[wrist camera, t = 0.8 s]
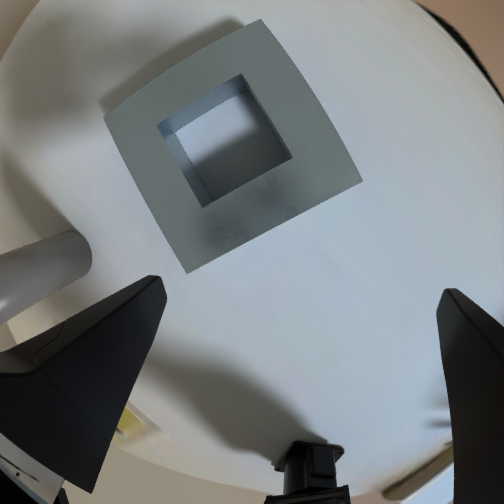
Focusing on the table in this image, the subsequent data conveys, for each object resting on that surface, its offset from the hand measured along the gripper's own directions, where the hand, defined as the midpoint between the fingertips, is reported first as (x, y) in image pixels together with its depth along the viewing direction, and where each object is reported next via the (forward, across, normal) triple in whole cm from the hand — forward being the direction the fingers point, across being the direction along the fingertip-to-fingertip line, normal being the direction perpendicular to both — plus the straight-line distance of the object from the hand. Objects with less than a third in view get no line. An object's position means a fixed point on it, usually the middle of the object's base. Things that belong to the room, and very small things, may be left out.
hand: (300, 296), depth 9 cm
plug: (+10, +21, +6) cm, 24 cm away
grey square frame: (+14, +6, -2) cm, 16 cm away
